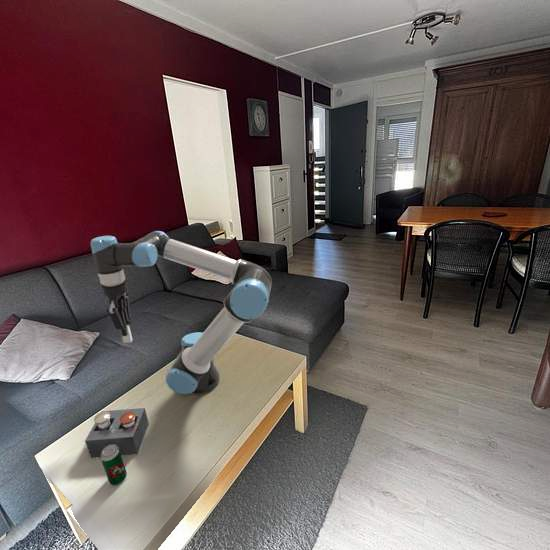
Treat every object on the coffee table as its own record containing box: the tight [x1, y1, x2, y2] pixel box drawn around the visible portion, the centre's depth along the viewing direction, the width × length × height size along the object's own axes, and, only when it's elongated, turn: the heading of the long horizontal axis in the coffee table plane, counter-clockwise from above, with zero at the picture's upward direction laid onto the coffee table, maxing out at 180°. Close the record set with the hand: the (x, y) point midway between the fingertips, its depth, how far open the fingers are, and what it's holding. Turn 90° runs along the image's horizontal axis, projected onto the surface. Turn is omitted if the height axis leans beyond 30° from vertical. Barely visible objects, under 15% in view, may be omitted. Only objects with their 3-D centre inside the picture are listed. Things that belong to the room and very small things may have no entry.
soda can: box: [99, 444, 128, 486], centre depth 91 cm, size 5×5×12 cm
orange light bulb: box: [120, 412, 135, 429], centre depth 104 cm, size 5×5×8 cm
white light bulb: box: [93, 410, 111, 431], centre depth 103 cm, size 5×5×8 cm
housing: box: [84, 407, 150, 459], centre depth 104 cm, size 15×12×8 cm
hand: (128, 341), depth 111 cm, fingers closed
